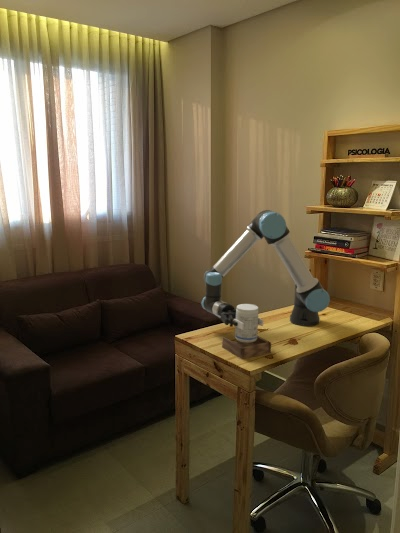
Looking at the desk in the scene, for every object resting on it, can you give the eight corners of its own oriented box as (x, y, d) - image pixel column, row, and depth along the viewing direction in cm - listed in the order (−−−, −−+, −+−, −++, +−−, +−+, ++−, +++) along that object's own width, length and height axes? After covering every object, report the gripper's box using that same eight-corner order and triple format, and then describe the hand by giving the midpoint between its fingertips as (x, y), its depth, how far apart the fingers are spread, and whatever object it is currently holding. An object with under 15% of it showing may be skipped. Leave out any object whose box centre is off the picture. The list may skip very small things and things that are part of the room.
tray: (249, 341, 207) (250, 332, 206) (270, 352, 194) (271, 342, 193) (222, 347, 200) (222, 337, 199) (241, 359, 187) (242, 348, 186)
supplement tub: (235, 334, 201) (236, 302, 198) (256, 336, 200) (258, 304, 197) (234, 342, 192) (235, 309, 189) (257, 344, 191) (258, 310, 188)
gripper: (243, 315, 216) (273, 329, 197) (203, 321, 205) (230, 337, 186) (243, 300, 214) (274, 312, 195) (203, 305, 204) (231, 319, 185)
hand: (252, 324), depth 191 cm, fingers closed on supplement tub, 9 cm apart
